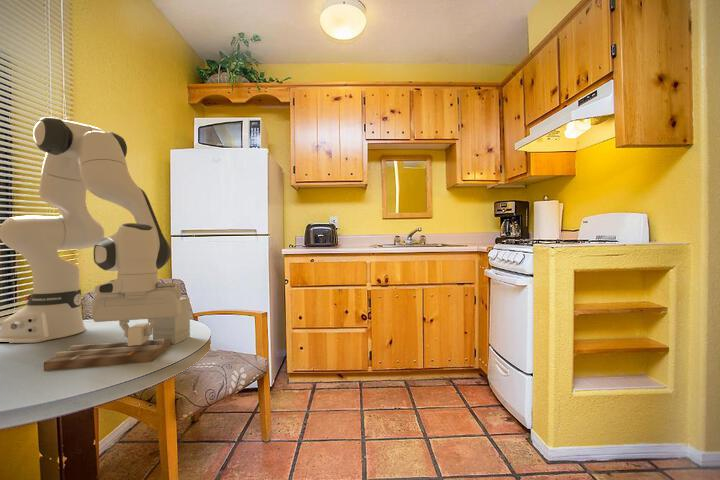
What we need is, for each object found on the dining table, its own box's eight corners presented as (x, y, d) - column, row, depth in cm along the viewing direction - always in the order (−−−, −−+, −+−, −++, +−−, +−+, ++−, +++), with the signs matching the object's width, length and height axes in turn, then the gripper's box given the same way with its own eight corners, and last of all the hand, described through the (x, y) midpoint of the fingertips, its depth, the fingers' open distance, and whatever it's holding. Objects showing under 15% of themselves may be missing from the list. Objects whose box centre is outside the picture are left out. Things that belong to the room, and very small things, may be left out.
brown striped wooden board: (43, 370, 75) (43, 357, 75) (77, 353, 86) (76, 342, 86) (152, 361, 80) (152, 349, 80) (170, 346, 91) (170, 335, 91)
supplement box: (190, 337, 100) (190, 297, 100) (175, 344, 93) (174, 301, 93) (169, 336, 101) (168, 297, 101) (151, 344, 94) (151, 301, 94)
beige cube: (123, 350, 81) (123, 329, 81) (132, 343, 86) (132, 324, 86) (145, 348, 82) (145, 327, 82) (153, 342, 87) (153, 322, 87)
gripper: (184, 281, 90) (185, 329, 90) (101, 284, 85) (102, 335, 85) (177, 283, 83) (177, 336, 83) (87, 287, 79) (87, 342, 79)
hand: (138, 335), depth 84 cm, fingers open, 3 cm apart
